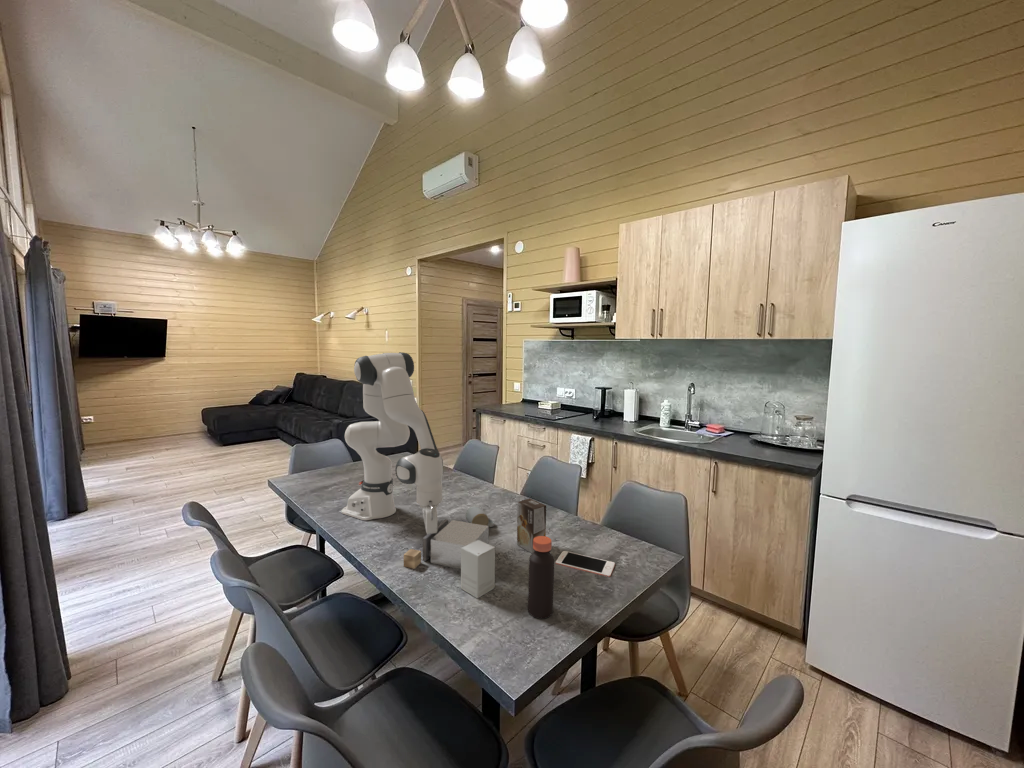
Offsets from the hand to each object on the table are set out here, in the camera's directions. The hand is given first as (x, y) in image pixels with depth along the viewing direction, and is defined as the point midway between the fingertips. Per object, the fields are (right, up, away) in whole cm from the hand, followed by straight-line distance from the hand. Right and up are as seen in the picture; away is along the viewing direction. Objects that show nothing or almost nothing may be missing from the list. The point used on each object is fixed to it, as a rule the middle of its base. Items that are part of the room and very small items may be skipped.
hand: (429, 535), depth 143 cm
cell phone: (+53, -8, -7) cm, 54 cm away
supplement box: (+19, -8, -22) cm, 30 cm away
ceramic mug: (+16, -4, +20) cm, 26 cm away
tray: (+8, -5, -2) cm, 10 cm away
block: (-4, -6, -10) cm, 12 cm away
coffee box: (+36, -6, +4) cm, 36 cm away
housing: (+11, -6, -3) cm, 13 cm away
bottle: (+36, -9, -32) cm, 49 cm away
